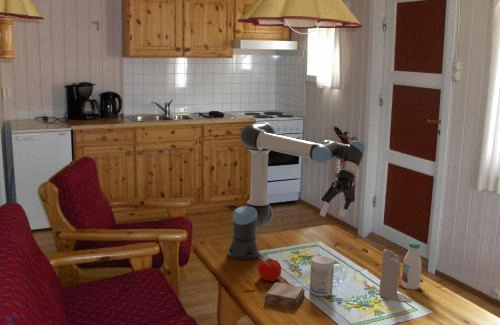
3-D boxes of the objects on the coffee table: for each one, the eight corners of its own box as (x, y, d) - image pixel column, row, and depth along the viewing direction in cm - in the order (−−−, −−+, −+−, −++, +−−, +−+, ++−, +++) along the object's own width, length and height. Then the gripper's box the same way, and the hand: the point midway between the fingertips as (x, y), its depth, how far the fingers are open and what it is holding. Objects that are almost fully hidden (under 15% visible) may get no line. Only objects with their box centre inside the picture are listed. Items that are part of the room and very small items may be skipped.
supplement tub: (320, 285, 234) (322, 253, 231) (336, 293, 227) (339, 260, 224) (304, 291, 228) (306, 258, 225) (321, 299, 221) (323, 265, 218)
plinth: (264, 302, 215) (265, 293, 215) (274, 290, 227) (274, 281, 227) (296, 309, 211) (296, 299, 210) (304, 295, 223) (304, 286, 222)
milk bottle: (419, 284, 240) (424, 241, 236) (418, 291, 232) (423, 247, 229) (401, 281, 242) (405, 239, 238) (400, 288, 235) (404, 244, 231)
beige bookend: (409, 304, 219) (414, 257, 215) (376, 295, 226) (380, 250, 223) (414, 298, 225) (419, 252, 222) (382, 289, 232) (386, 245, 229)
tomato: (261, 285, 232) (262, 266, 231) (254, 275, 243) (255, 256, 241) (284, 283, 235) (285, 264, 234) (276, 273, 246) (277, 255, 244)
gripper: (372, 175, 234) (356, 220, 227) (335, 178, 255) (320, 219, 249) (360, 167, 231) (344, 212, 224) (324, 170, 252) (308, 211, 246)
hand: (331, 215), depth 237 cm, fingers open, 13 cm apart
